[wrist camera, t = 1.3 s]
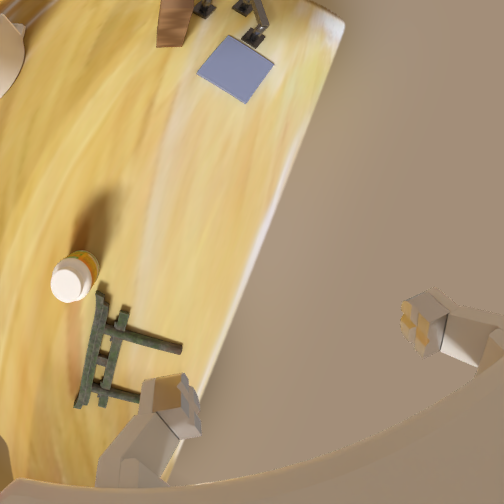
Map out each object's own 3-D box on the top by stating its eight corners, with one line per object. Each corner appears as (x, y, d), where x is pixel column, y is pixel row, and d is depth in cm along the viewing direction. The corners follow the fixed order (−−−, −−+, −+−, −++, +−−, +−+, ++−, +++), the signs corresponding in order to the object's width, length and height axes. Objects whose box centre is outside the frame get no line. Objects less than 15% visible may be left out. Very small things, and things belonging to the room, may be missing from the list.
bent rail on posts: (190, 11, 36) (196, -8, 31) (217, -13, 36) (225, -31, 31) (255, 48, 41) (268, 33, 36) (277, 22, 41) (291, 7, 36)
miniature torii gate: (155, 427, 44) (73, 407, 38) (154, 419, 46) (74, 399, 40) (192, 323, 44) (95, 293, 38) (189, 318, 46) (97, 288, 40)
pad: (196, 73, 39) (196, 72, 38) (227, 36, 39) (228, 35, 38) (245, 104, 42) (246, 103, 41) (272, 65, 42) (274, 64, 42)
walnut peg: (156, 47, 36) (161, 8, 26) (157, 28, 35) (162, -13, 25) (182, 46, 37) (193, 8, 27) (182, 27, 36) (193, -13, 26)
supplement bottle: (88, 242, 38) (72, 254, 29) (106, 275, 39) (95, 295, 30) (59, 260, 37) (37, 276, 28) (77, 292, 38) (60, 316, 29)
